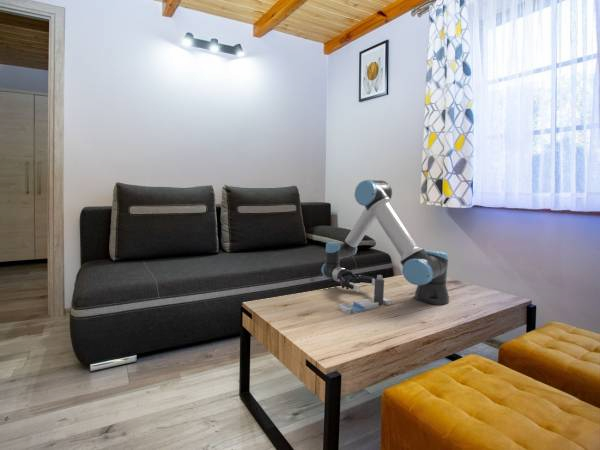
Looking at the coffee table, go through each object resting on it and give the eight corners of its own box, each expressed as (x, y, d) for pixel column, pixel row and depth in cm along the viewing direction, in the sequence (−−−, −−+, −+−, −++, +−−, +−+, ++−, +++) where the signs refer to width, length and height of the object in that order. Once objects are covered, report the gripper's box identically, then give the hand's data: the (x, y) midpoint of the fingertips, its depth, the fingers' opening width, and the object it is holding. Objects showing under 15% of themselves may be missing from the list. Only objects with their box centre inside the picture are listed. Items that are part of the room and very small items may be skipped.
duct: (382, 299, 161) (382, 295, 161) (393, 304, 155) (393, 300, 155) (337, 308, 149) (338, 303, 149) (348, 314, 143) (348, 309, 142)
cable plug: (378, 301, 158) (380, 274, 156) (384, 304, 155) (386, 276, 153) (371, 303, 156) (373, 275, 154) (377, 306, 153) (379, 277, 151)
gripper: (361, 280, 184) (390, 291, 165) (322, 286, 172) (348, 299, 153) (362, 266, 183) (391, 276, 164) (322, 271, 171) (349, 282, 152)
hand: (370, 287), depth 159 cm, fingers open, 13 cm apart
